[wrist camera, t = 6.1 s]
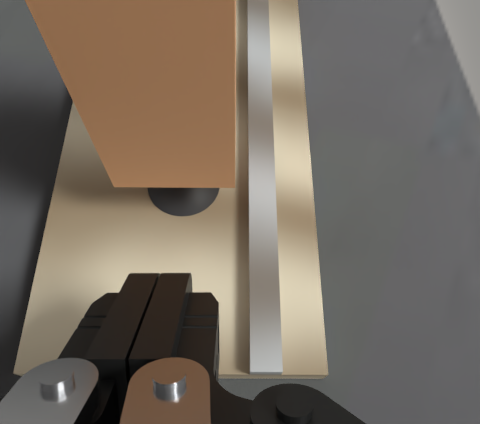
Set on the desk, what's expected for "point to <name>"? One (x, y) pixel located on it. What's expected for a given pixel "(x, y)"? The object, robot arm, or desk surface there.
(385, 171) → the desk surface
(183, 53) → the tan wooden block
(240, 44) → the plate
